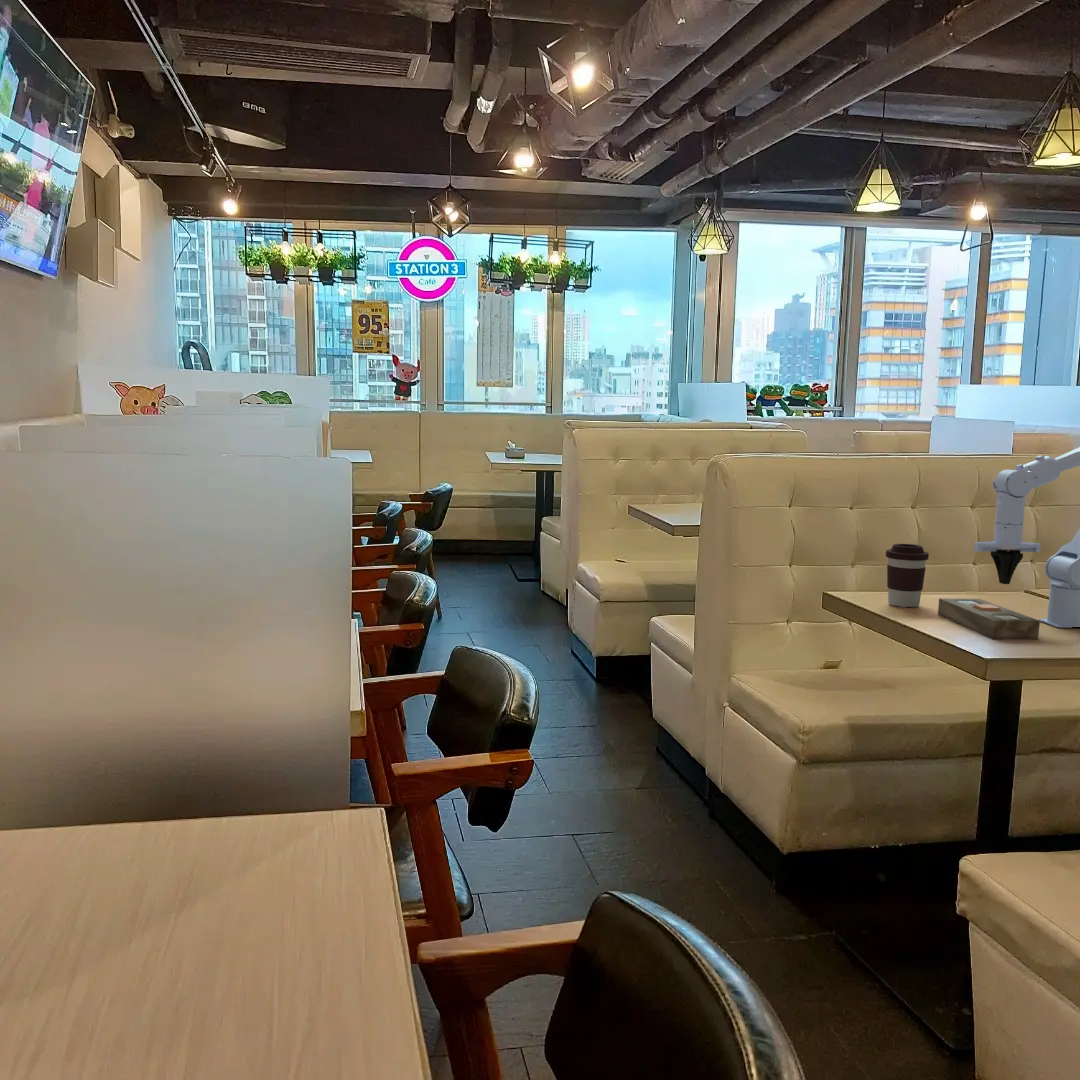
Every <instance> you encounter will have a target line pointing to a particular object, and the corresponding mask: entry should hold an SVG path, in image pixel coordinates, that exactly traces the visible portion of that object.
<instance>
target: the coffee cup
mask: <svg viewBox="0 0 1080 1080" xmlns="http://www.w3.org/2000/svg"><path fill="white" fill-rule="evenodd" d="M929 556H930V553H929V552H926V551H924V548H923V546H922V545H920V544H912V543H894V544H893V545H892V547H891V548H890V549H886V551H885V557H886V558H887V565H886V573H887V574H886V576H887V577H886V583H887V584H886V585H887V586H886V587H887V588H888V589H887V590H888V591H887V594H888V595H887V596H888V597H887V599H888V600H887V601H888V604H889V605H890V606H893V607H896V606H899V607H898V608H905V607H914V608H918V607H919V606H920V603H921V597H922V596H921V595H922V591H923V589H924V581H925V574H926V570H927V569H926V562H927V560H929Z"/></svg>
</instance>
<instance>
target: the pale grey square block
mask: <svg viewBox="0 0 1080 1080" xmlns="http://www.w3.org/2000/svg"><path fill="white" fill-rule="evenodd" d="M993 616H996V617H998V618H1001V619H1019V618H1016V617H1013V616H1007V615H993Z"/></svg>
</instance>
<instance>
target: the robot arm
mask: <svg viewBox="0 0 1080 1080" xmlns="http://www.w3.org/2000/svg"><path fill="white" fill-rule="evenodd" d="M1079 466H1080V446H1079V447H1077V448H1075V449H1072V450H1069V451H1068V452H1065V453H1063V454H1061V455H1059V456H1057V457H1052V456H1048V455H1045V456H1044V455H1037V456H1035V459H1034V460H1032V461H1030V462H1027V463H1024V464H1023V463H1022V464H1017V465H1015V468H1014V469H1003V470H1001V471H999V473H998V474H997V475H996V476H995V479H994V481H993V480H992V487H993V489H994V491H995V493H996V507H995V508H996V509H995V521H994V523H995V524H994V533H993V534H994V535H993V541H975V542H973V551H974V552H978V553H979V552H981V553H983V552H990V556H991V558H992V560H993V564H994V565H995V569H996V571H997V576H998V582H999V584H1002V585H1010V583H1011V581H1012V577H1013V575H1014V572H1015V570H1016V568H1017V567H1018V565H1019V564H1020V562H1021V561H1022V559H1023V557H1024V553H1041V551H1042V550H1041V549H1042V548H1041V547H1042V543H1037V542H1025V541H1023V532H1024V521H1025V520H1024V517H1025V509H1026V508H1025V506H1026V496H1027V495H1029V494H1030V492H1031V491H1032V490H1033V489H1035V488H1039V487H1041V486H1043V485H1046V484H1048V483H1052V482H1053V481H1056V480H1058V479H1059V478H1060V475H1061V472H1064V471H1067V470H1070V469H1073V468H1077V467H1079ZM1044 573H1045V574H1046V576H1047V577H1048V578H1049V584H1050V585H1049V595H1048V604H1047V614H1046V615H1047V616H1046V618H1038V620H1039V621H1040V622H1041V623H1045V624H1048V625H1050V626H1053V627H1056V628H1061V629H1062V628H1065V629H1066V628H1069V629H1070V628H1072V627H1080V528H1078V530H1077V531H1076V533H1075V535H1074V537H1073V538H1072V540H1071V541H1070V542H1068V543H1066V544H1063V545H1062V546H1061V547H1060V548H1059V549H1058V550H1057V552H1056V553H1055V554H1054V555H1051V556H1050V557H1049V558H1048V559H1047V561H1046V563H1045V565H1044ZM1072 629H1073V628H1072Z"/></svg>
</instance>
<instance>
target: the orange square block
mask: <svg viewBox="0 0 1080 1080" xmlns="http://www.w3.org/2000/svg"><path fill="white" fill-rule="evenodd" d="M974 608H975V609H978V610H980V611H1000V608H999V607H996V606H994V605H990V604H974Z"/></svg>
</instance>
